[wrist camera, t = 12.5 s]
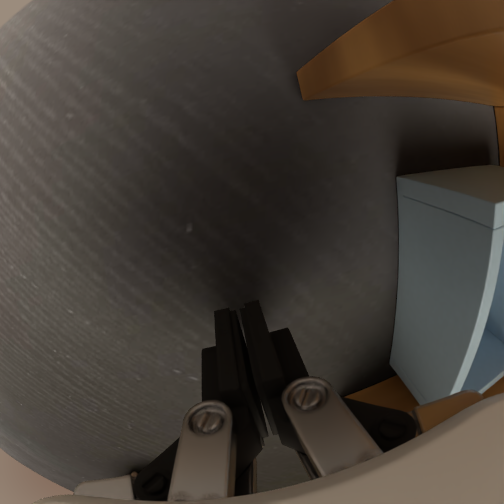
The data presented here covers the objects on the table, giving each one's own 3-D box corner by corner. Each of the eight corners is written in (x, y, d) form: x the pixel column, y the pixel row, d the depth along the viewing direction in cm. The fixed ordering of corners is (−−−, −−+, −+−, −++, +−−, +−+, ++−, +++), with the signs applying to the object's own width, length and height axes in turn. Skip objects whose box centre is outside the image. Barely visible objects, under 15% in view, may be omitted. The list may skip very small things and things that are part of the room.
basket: (395, 176, 11) (496, 203, 6) (491, 164, 11) (564, 183, 6) (388, 363, 15) (434, 426, 10) (473, 320, 15) (520, 360, 10)
